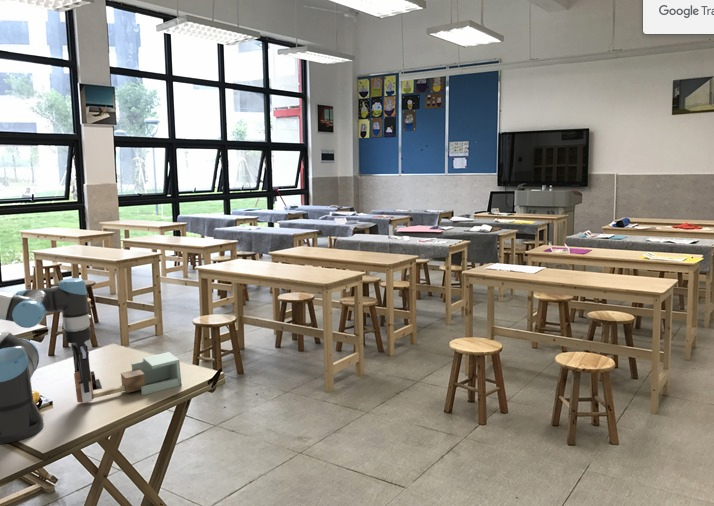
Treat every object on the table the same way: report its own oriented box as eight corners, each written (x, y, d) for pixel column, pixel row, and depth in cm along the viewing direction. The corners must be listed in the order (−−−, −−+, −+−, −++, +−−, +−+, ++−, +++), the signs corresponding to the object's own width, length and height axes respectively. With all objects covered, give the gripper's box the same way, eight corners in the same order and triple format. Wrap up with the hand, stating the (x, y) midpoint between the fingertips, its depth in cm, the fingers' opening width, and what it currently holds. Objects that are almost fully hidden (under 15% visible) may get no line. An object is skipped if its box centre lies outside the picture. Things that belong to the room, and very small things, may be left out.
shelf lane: (142, 395, 196) (139, 368, 194) (133, 385, 204) (131, 360, 203) (181, 384, 203) (179, 359, 202) (171, 376, 211) (169, 351, 210)
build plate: (105, 391, 202) (103, 377, 201) (79, 396, 199) (78, 382, 198) (100, 378, 214) (98, 365, 213) (76, 383, 210) (74, 370, 209)
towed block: (79, 404, 187) (76, 377, 185) (75, 398, 192) (72, 371, 190) (145, 388, 198) (143, 362, 197) (140, 383, 203) (138, 357, 202)
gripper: (96, 331, 182) (104, 404, 186) (84, 319, 196) (92, 387, 200) (69, 336, 178) (78, 411, 181) (59, 324, 192) (67, 393, 196)
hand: (85, 398), depth 191 cm, fingers closed on towed block, 5 cm apart
